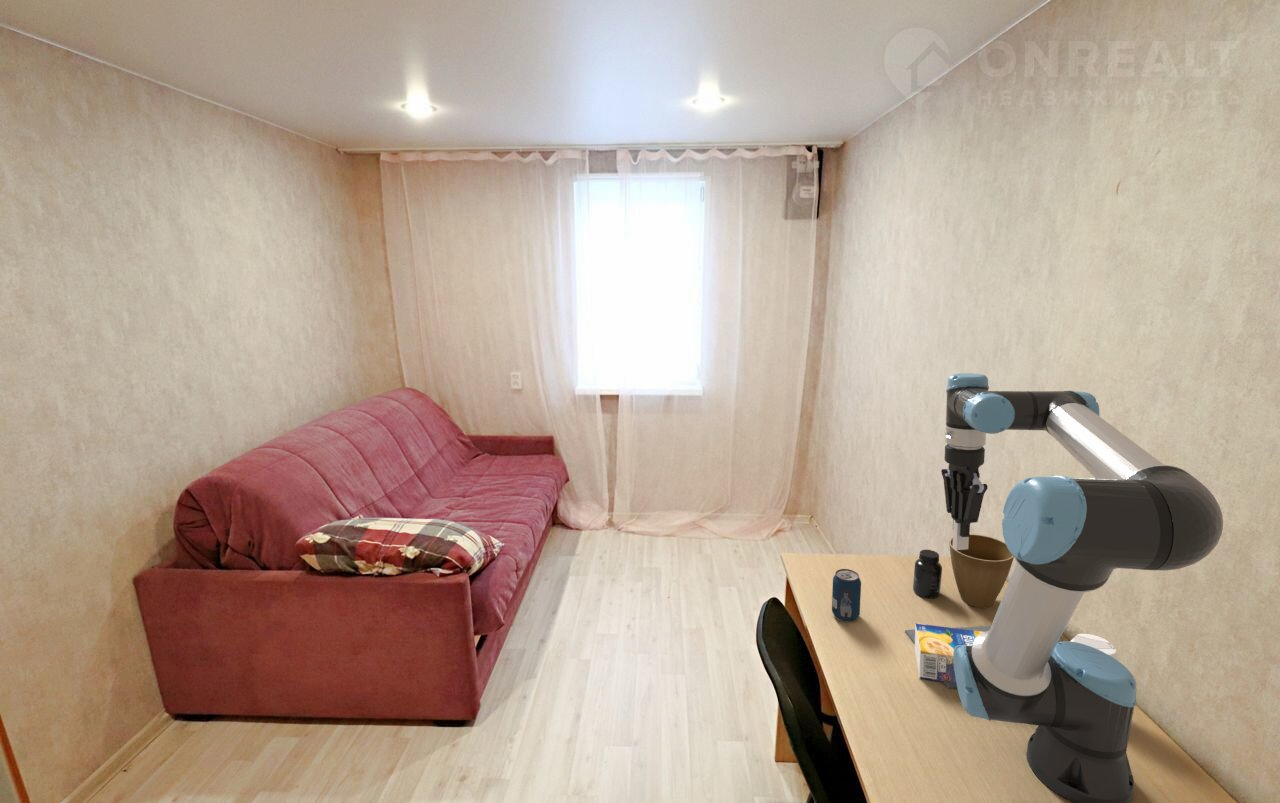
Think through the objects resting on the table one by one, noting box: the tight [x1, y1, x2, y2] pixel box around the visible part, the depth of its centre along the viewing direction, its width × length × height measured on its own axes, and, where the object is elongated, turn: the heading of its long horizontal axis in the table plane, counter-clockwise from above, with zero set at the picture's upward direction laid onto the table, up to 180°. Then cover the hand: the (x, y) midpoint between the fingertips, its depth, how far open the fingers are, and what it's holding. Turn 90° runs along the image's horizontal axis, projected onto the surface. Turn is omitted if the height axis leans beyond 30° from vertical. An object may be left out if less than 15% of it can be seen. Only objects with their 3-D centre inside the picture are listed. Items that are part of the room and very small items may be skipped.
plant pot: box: [948, 533, 1015, 609], centre depth 153 cm, size 15×15×16 cm
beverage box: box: [914, 622, 983, 684], centre depth 127 cm, size 7×11×22 cm
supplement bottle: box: [912, 549, 943, 600], centre depth 158 cm, size 7×7×12 cm
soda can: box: [831, 568, 862, 623], centre depth 149 cm, size 7×7×12 cm
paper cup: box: [1070, 633, 1119, 661], centre depth 116 cm, size 8×8×14 cm
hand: (960, 548), depth 127 cm, fingers closed
